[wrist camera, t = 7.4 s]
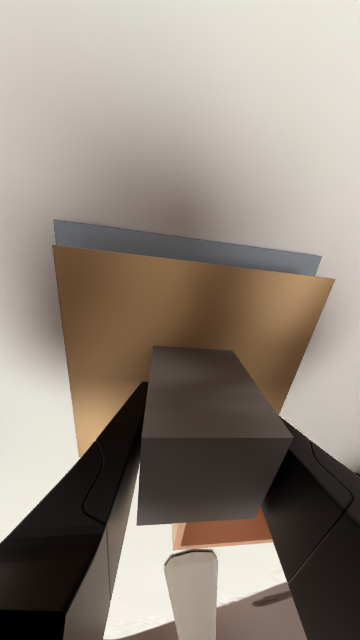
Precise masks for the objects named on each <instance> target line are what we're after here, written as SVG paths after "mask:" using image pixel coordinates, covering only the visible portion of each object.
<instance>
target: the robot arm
mask: <svg viewBox="0 0 360 640" xmlns="http://www.w3.org/2000/svg"><path fill="white" fill-rule="evenodd" d="M148 383H149V382H145V381H143V382H141V383H140V384H139V386H138V387H137V388H136V389H135V391H134V392H133V393H132V394H131V396H130V397H129V398H128V400H127V401H126V402H125V403H124V405H123V406H122V407H121V408H120V410H119V411H118V412H117V413H116V415H115V416H114V417H113V418H112V420H111V421H110V422H109V423H108V425H107V426H106V427H105V428H104V430H103V431H102V432H101V433H100V435H99V436H98V437H97V438H96V441H94V442H93V443H92V445H91V446H90V447H89V448H88V450H87V451H86V452H85V453H84V454H83V456H82V457H81V458H80V459H79V460H78V462H77V463H76V464H75V465H74V466H73V467H72V468H71V470H70V471H69V472H68V473H67V474H66V475H65V476H64V477H63V478H62V479H61V480H60V481H59V483H58V484H57V485H56V486H55V487H54V488H53V489H52V490H51V491H50V492H49V493H48V494H47V495H46V496H45V497H44V498H43V499H42V500H41V502H40V503H39V504H38V505H37V506H36V507H35V508H34V509H33V510H32V511H31V512H30V513H29V514H28V515H27V516H26V517H25V518H24V519H23V520H22V522H21V523H20V524H19V525H18V526H17V527H16V528H15V529H14V530H13V531H12V532H11V533H10V534H9V535H8V536H7V537H6V538H5V539H4V540H3V541H2V542H1V543H0V640H103V636H104V631H105V626H106V621H107V617H108V612H109V607H110V600H111V597H112V593H113V588H114V583H115V578H116V574H117V569H118V564H119V559H120V554H121V550H122V545H123V540H124V535H125V531H126V526H127V521H128V516H129V512H130V507H131V502H132V497H133V493H134V488H135V483H136V478H137V474H138V469H139V464H140V458H141V441H142V431H143V423H144V415H145V407H146V399H147V391H148ZM278 416H279V415H278ZM279 417H280V416H279ZM280 419H281V420H282V422H283V423H284V424H285V426H286V427H287V429H288V430H289V431H290V433H291V434H292V436H293V437H294V438H293V440H292V443H291V445H290V447H289V449H288V451H287V453H286V455H285V457H284V459H283V461H282V463H281V465H280V467H279V469H278V471H277V473H276V475H275V478H274V480H273V482H272V484H271V486H270V488H269V490H268V492H267V494H266V496H265V498H264V500H263V502H262V504H261V508H262V511H263V514H264V517H265V520H266V523H267V526H268V528H269V531H270V534H271V537H272V540H273V543H274V546H275V548H276V551H277V554H278V557H279V560H280V563H281V565H282V568H283V571H284V574H285V577H286V580H287V581H288V585H289V589H290V592H291V594H292V597H293V600H294V603H295V606H296V609H297V611H298V614H299V617H300V620H301V623H302V626H303V628H304V631H305V634H306V637H307V640H360V476H358V475H357V474H355V473H354V472H352V471H351V470H350V469H348V468H347V467H345V466H344V465H343V464H341V463H340V462H338V461H337V460H336V459H334V458H333V457H332V456H330V455H329V454H328V453H326V452H325V451H324V450H322V449H321V448H320V447H319V446H317V445H316V444H315V443H313V442H312V441H311V440H309V439H308V438H307V437H306V436H304V435H303V434H302V433H300V432H299V431H298V430H297V429H295V428H294V427H293V426H291V425H290V424H289V423H288V422H286V421H285V420H284V419H282V418H281V417H280Z"/></svg>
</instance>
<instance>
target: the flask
mask: <svg viewBox="0 0 360 640" xmlns="http://www.w3.org/2000/svg"><path fill="white" fill-rule="evenodd" d="M164 572H165V577H166V582H167V586H168V591H169V595H170V600H171V604H172V609H173V613H174V618H175V623H176V628H177V633H178V638H179V640H216V637H215V636H216V599H217V574H218V560H217V559H216V557H215V555H214V554H213V553H209V552H191V553H187V554H184V555H180V556H176V557H173V558H170V560H169V561H168V563H167V564H166V566H165V567H164Z"/></svg>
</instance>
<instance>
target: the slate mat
mask: <svg viewBox="0 0 360 640" xmlns="http://www.w3.org/2000/svg"><path fill="white" fill-rule="evenodd" d="M53 221H54V229H55V237H56V245H58V246H68V247H77V248H85V249H93V250H101V251H110V252H118V253H126V254H134V255H143V256H151V257H159V258H167V259H175V260H184V261H192V262H200V263H208V264H217V265H225V266H233V267H241V268H250V269H258V270H266V271H274V272H283V273H291V274H299V275H307V276H315V274H316V271H317V268H318V266H319V263H320V260H321V258H322V256H316V255H309V254H301V253H294V252H287V251H279V250H272V249H265V248H257V247H250V246H243V245H235V244H228V243H221V242H213V241H206V240H199V239H191V238H184V237H177V236H169V235H162V234H155V233H147V232H140V231H133V230H125V229H118V228H111V227H103V226H96V225H89V224H81V223H74V222H67V221H59V220H53Z"/></svg>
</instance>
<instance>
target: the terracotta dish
mask: <svg viewBox="0 0 360 640" xmlns="http://www.w3.org/2000/svg"><path fill="white" fill-rule="evenodd" d="M172 538H173V550H183V549H196V548H208V547H220V546H233V545H245V544H258V543H270V542H273V540H272V537H271V534H270V531H269V528H268V526H267V523H266V520H265V517H264V514H263V511H262V508H261V506H260V508H259V510H258V513H257V515H256V517H255V519H240V520H223V521H207V522H190V523H173V524H172Z"/></svg>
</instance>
